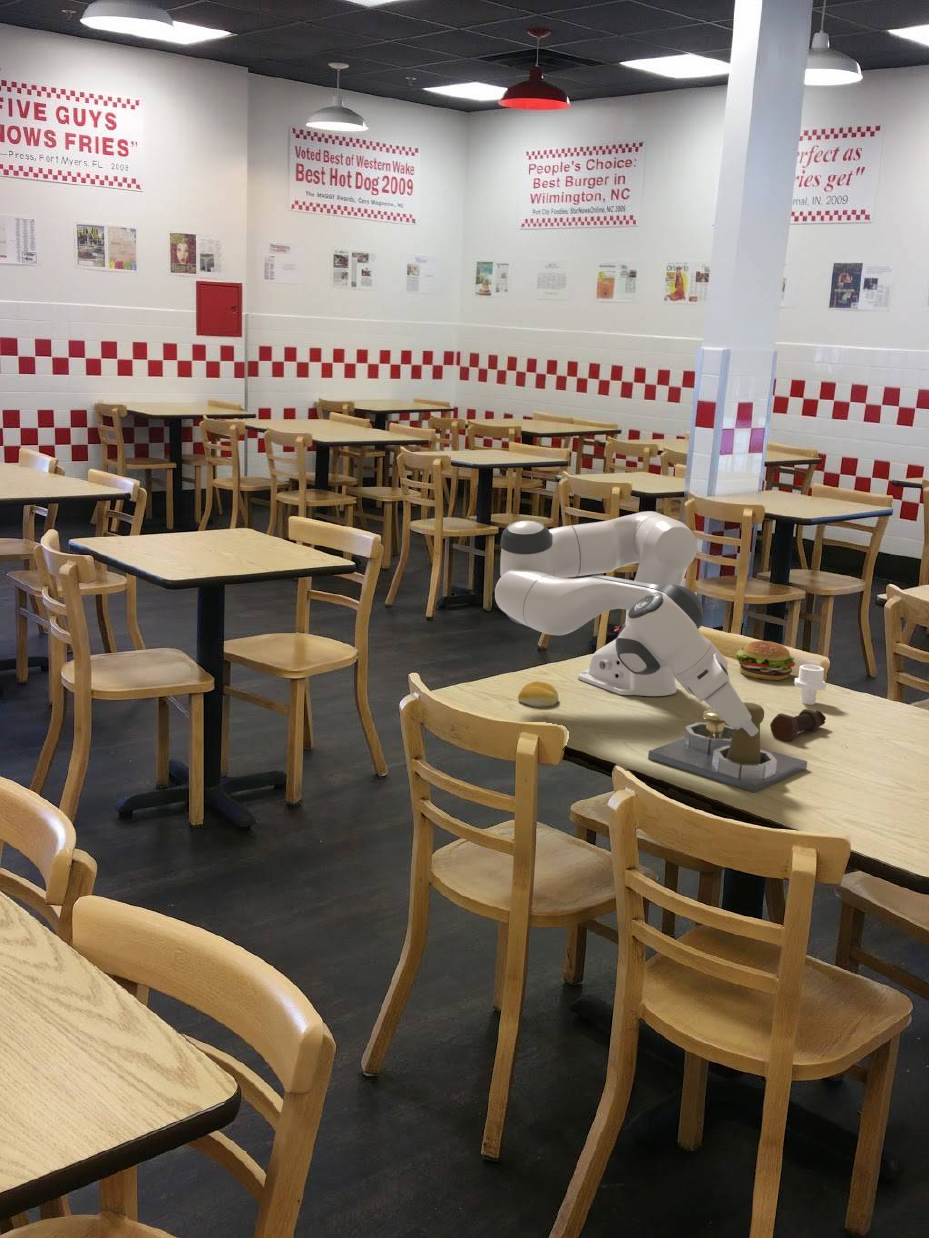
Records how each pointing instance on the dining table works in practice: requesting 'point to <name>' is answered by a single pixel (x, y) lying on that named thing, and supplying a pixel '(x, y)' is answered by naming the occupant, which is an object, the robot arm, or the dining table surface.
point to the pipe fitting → (810, 682)
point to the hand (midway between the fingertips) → (751, 727)
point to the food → (765, 660)
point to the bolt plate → (724, 757)
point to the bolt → (796, 724)
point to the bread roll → (538, 694)
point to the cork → (747, 739)
